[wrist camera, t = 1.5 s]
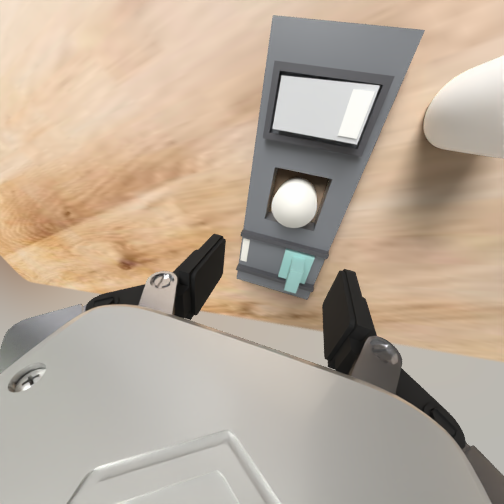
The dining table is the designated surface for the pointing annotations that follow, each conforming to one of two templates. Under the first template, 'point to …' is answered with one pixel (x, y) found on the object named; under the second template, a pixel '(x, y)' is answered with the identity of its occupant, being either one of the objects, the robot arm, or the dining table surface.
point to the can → (470, 112)
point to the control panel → (315, 148)
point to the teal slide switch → (295, 268)
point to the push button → (295, 203)
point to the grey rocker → (323, 108)
